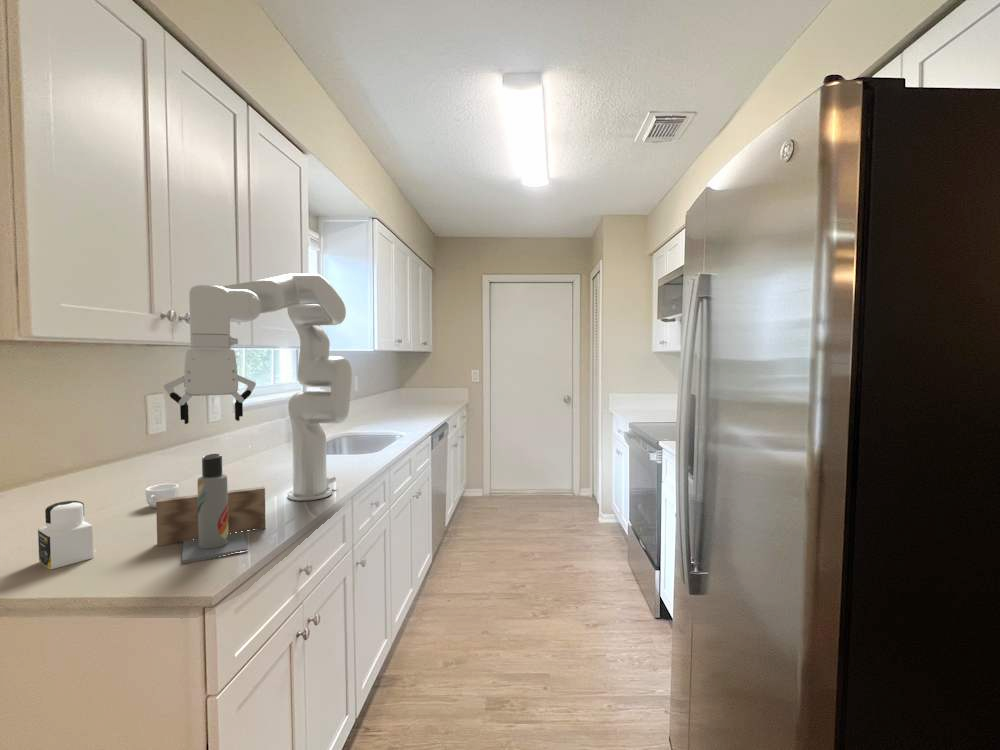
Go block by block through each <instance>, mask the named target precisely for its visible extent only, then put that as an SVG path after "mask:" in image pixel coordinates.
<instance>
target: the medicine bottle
mask: <svg viewBox="0 0 1000 750" xmlns="http://www.w3.org/2000/svg"><path fill="white" fill-rule="evenodd" d="M44 512H45V513H44V514H45V515H44V516H45V517H44V518H45V526H42V527H39V528H38V529H37V537H38V540H37V541H38V542H37V543H38V561H39V563H41V564H42V565H43V566H45V568H48V569H49V570H50V571H51V570H54V569H58V568H62V567H66V566H69V565H73V564H78V563H80V562H84V561H87V560H91V559H94V556H95V555H94V553H95V552H94V551H95V550H94V526H93V524H90V523H89V522H87V521H85V503H84V502H82V501H79V500H64V501H59V502H56V503H53V504H51V505H49V506H47V507H46V508H45V511H44Z"/></svg>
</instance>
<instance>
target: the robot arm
mask: <svg viewBox="0 0 1000 750" xmlns="http://www.w3.org/2000/svg"><path fill="white" fill-rule="evenodd" d="M188 295H189V297H188V299H189V300H188V301H189V333H190V335H189V336H190V338H189V340H190V349H186V351H185V356H184V364H183V365H184V366H183V367H184V368H183V369H184V370H183V375H182V376H180V377H178V378H176V379H174V380H172V381H170V382H168V383H165V384H163V388H164V390H165V391H166V393H167V395H168V396H169V397H170V398H171V399H172V400H173V401H174V402H176V403H177V404H178V405H179V407H180V409H179V411H180V412H179V413H180V420H181V421H182V420H183V421H184V425H187V424H189V421H190V419H189V416H190V415H189V404H188V401H189V400H190V399H191V398H192V396H193V397H201V396H202V397H204V396H206V397H207V396H225V395H226V396H227V395H231V396H232V397H233V398H234V399H235V402H234V420H235V421H236V422H239V421H240V417H241V418H242V417H244V416H243V413H244V411H243V410H244V409H243V408H244V407H243V403H244V401H246V399H248V398H249V397H250V396H251V395H252V393H253V390H254V389H255V388H256V385H257V384H256V382H255V381H253V380H250V379H248V378H246V377H244V376H243V375H239V374H238V365H237V358H236V353H235V349H231V348H232V346H234V345H238V343H239V342H238V341H239V340H238V338H236V337H235V338H234V337H233V336H231V323H247V322H252V321H254V320H256V319H257V318H258V317H259V316H260V315H261V314H267V313H273V312H277V311H281V310H282V309H287V315H288V318H289V319H290V320H291V323H292V324H293V326H294V327H295V329H296V331H297V334H298V337H299V341H300V342H299V343H300V344H299V354H298V355H299V356H298V357H299V358H298V364H297V380H298V382H299V384H300V385H301V386H303V387H306V388H307V387H308V388H330V391H320V390H319V391H314V390H313V391H310V390H309V391H308V390H307V391H300V392H296V393H294V394H293V395H292V396H291V397H290V399H289V400H288V404H287V405H288V406H287V409H288V415H289V420H290V424H291V434H292V435H291V438H292V487H293V488H292V489H291V490H290V491H288V492H287V498H288V500H292V501H300V502H301V501H304V502H305V501H314V500H315V501H316V500H320V499H321V500H322V499H324V498H326V497H327V498H328V497H329V496H330V495H332V493H333V489H332V488H331V487H329V485H330V484H333V483H335V482H337V479H336V476H334V475H333V476H330V477H327V436H326V433H325V431H324V429H323V427H322V426H321V424H334V425H335V424H336V425H337V424H341V423H343V422H345V421H346V420H347V418H348V416H349V412H350V406H351V405H350V403H351V402H350V401H351V391H352V381H353V380H352V379H353V377H352V376H353V372H352V371H353V370H352V367H351V363H350V361H349V360H348V359H347V358H345V357H343V356H337V355H335V356H333V355H330V339H329V337H328V334H326V332H325V331H324V329H323V328H322V327H321V326H337V325H341V324H342V323H343V322H344V320H345V319H346V315H347V310H346V306H345V303H344V301H343V299H342V298H341V296H340V295H339V294H338V292H337V291H336V289H335V288H334V287H333V286H332V284H331V283H330V282H329V281H328V280H327V279H326V278H325V277H323V276H322V275H320V274H318V273H288V274H282V275H279V276H277V275H276V276H273V277H269V278H263V279H258V280H251V281H246V282H239V283H235V284H227V285H221V286H219V285H213V284H212V285H209V284H199V285H194V286H191V288H190V289H189V293H188ZM239 383H242V384H244V385H246V386H247V387H246V389H245V391H243V392H242V393H241V394H240V393H239V392H238V390H239ZM181 384H183V386H184V387H183V388H184V392H185V393H184V394H183V396H180V394H178V393H176V391H175V389H174V388H176V387H177V386H179V385H181Z"/></svg>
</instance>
